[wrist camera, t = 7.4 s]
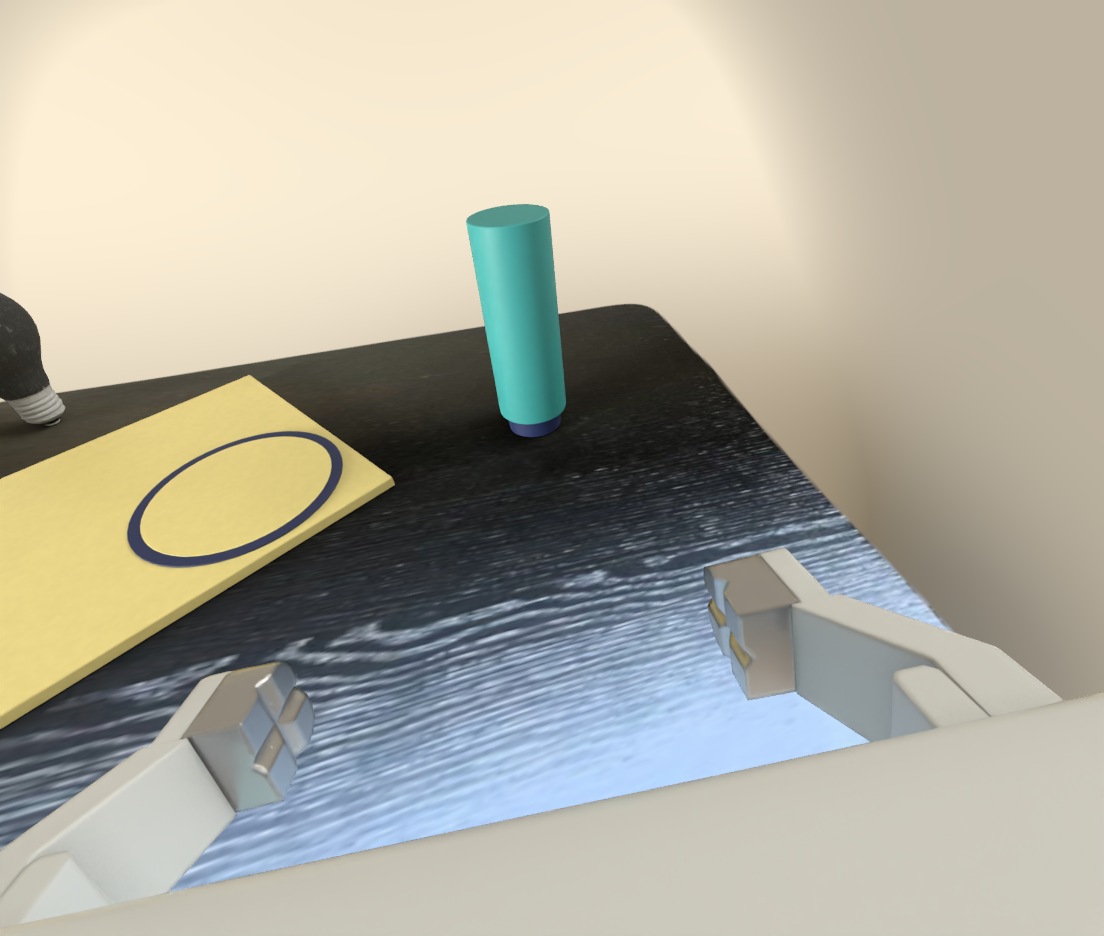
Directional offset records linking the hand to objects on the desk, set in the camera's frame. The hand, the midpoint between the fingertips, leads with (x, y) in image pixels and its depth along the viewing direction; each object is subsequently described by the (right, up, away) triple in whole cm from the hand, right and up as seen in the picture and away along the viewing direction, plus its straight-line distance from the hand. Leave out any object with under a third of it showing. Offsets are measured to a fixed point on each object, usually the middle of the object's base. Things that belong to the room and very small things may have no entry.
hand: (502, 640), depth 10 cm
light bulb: (-35, +6, +28) cm, 46 cm away
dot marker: (0, +6, +23) cm, 23 cm away
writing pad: (-22, +1, +20) cm, 29 cm away
